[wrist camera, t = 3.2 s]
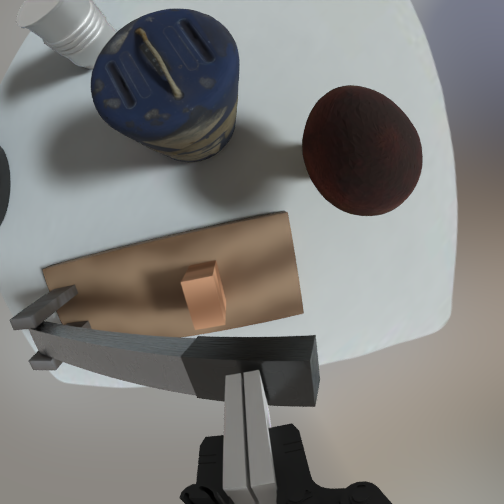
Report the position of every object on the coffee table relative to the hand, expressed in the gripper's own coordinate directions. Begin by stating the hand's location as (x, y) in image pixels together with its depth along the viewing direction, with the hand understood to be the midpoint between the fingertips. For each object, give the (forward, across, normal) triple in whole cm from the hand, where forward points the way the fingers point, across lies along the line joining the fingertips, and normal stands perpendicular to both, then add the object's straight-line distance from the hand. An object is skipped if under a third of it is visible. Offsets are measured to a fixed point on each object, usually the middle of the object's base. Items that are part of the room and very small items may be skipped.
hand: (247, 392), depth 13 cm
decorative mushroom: (+21, +12, +11) cm, 27 cm away
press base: (+21, -10, 0) cm, 23 cm away
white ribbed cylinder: (+21, -13, +33) cm, 41 cm away
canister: (+21, -2, +18) cm, 28 cm away
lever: (+7, -10, 0) cm, 12 cm away
